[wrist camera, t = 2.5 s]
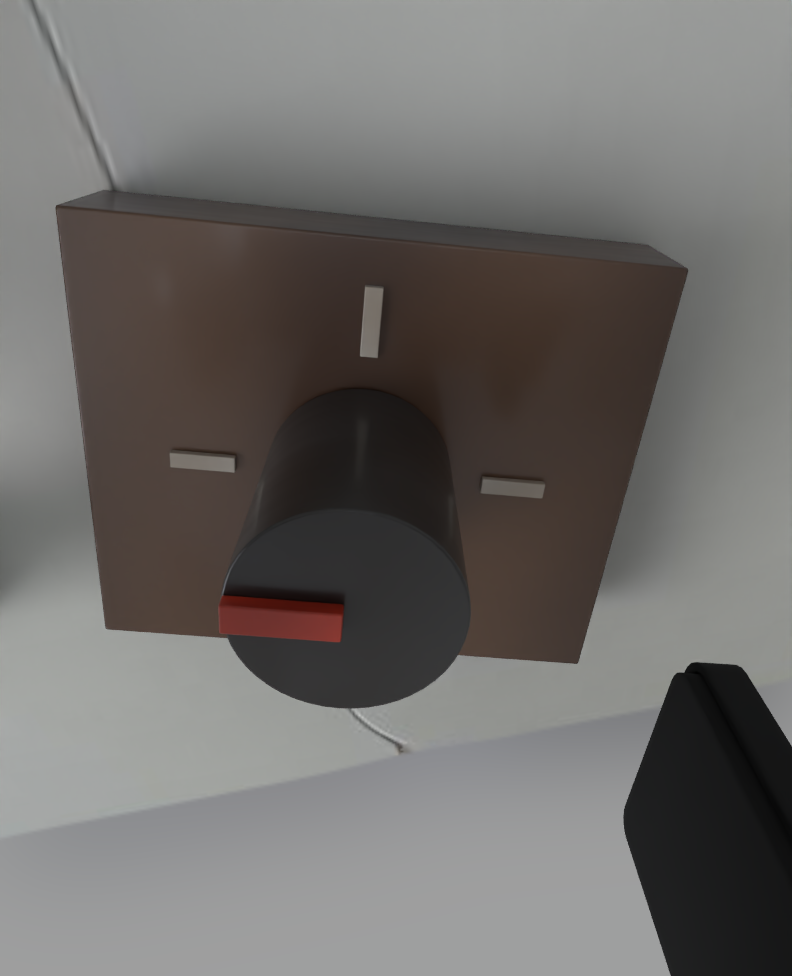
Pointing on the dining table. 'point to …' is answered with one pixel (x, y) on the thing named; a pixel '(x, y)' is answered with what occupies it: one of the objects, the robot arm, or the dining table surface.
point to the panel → (358, 365)
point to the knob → (350, 556)
